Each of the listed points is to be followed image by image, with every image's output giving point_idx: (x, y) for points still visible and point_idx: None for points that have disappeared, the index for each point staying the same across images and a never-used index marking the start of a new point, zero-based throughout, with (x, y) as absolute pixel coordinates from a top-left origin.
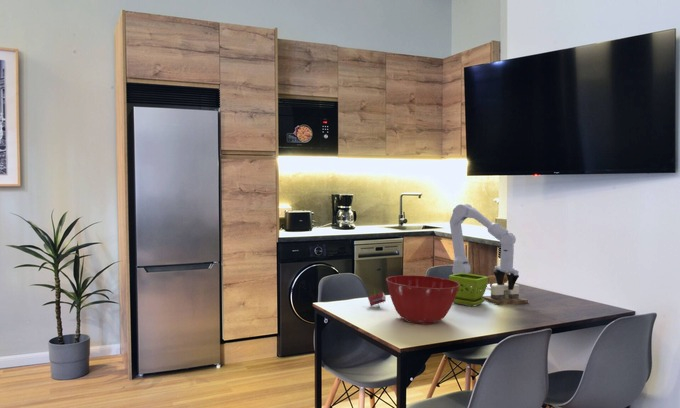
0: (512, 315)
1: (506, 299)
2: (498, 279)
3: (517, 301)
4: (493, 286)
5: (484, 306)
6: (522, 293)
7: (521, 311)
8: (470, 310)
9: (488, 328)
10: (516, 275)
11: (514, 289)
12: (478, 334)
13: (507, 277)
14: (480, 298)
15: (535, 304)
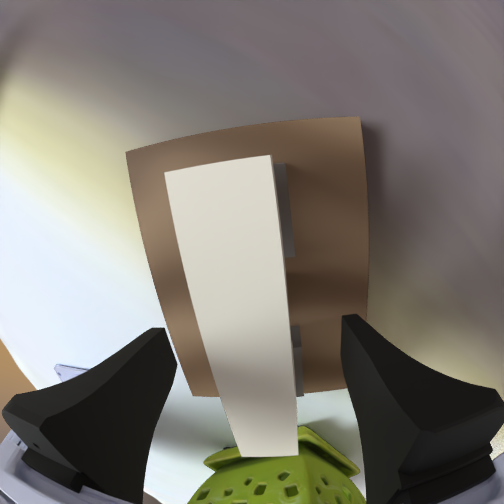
0: (496, 379)
1: (313, 307)
2: (149, 423)
3: (366, 234)
4: (274, 453)
5: (355, 429)
6: (47, 20)
7: (492, 320)
8: None
9: (498, 444)
10: (486, 450)
11: (281, 236)
12: (498, 455)
13: (370, 488)
14: (314, 454)
15: (394, 89)
